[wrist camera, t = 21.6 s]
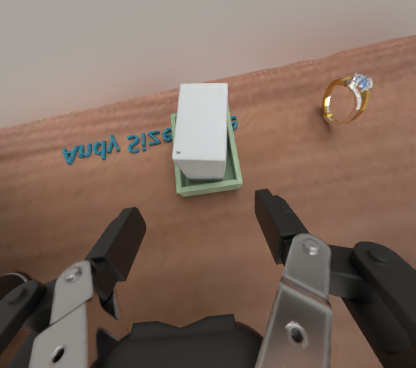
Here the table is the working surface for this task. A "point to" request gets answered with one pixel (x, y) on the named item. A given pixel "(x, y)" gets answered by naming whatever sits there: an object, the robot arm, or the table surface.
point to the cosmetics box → (201, 131)
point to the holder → (196, 188)
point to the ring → (359, 91)
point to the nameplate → (113, 143)
